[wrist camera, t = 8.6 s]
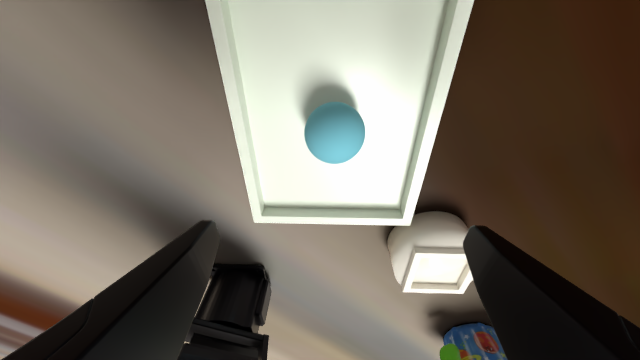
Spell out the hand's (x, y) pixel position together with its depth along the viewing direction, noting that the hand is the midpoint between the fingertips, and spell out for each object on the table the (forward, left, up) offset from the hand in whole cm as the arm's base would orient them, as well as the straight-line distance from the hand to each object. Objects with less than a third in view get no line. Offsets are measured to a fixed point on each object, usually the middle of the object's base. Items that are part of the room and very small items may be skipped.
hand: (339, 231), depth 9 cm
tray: (0, 0, -12) cm, 12 cm away
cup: (+10, -13, -12) cm, 20 cm away
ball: (0, 0, -11) cm, 11 cm away
